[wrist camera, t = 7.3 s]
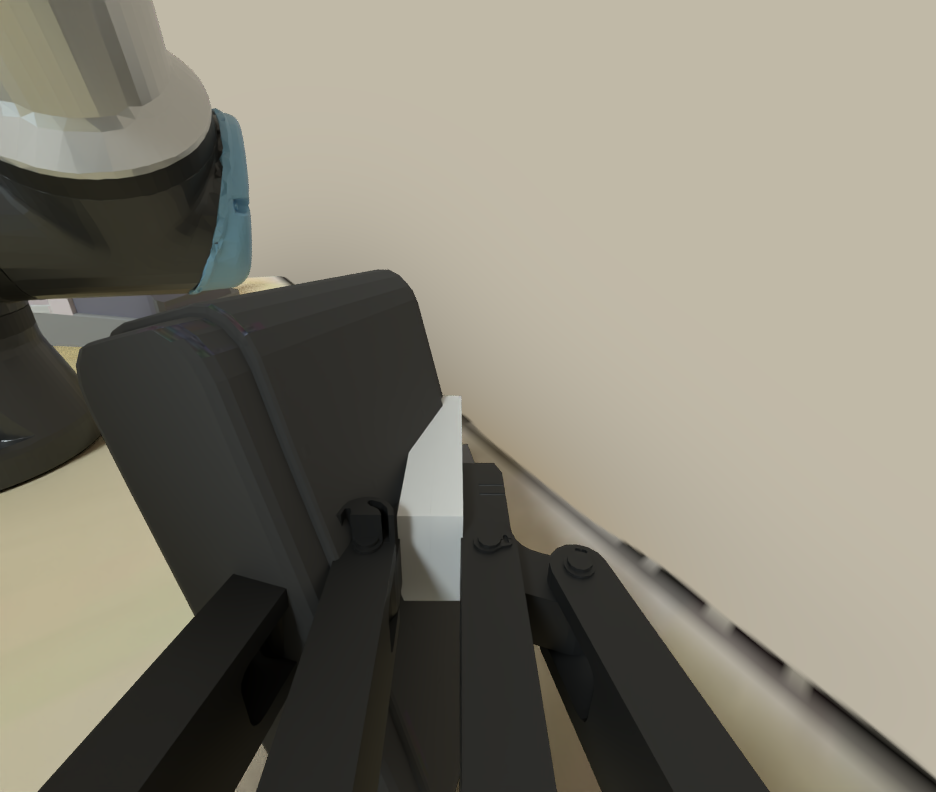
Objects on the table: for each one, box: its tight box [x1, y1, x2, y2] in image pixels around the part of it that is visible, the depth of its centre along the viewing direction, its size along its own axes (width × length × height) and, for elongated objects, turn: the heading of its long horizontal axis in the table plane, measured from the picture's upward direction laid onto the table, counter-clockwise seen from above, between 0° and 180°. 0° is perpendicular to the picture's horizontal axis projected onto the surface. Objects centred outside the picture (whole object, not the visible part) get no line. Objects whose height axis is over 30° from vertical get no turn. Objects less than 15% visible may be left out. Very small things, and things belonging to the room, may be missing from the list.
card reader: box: [76, 270, 460, 792], centre depth 14 cm, size 9×4×15 cm, turn 164°
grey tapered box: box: [28, 288, 239, 347], centre depth 58 cm, size 21×21×15 cm
